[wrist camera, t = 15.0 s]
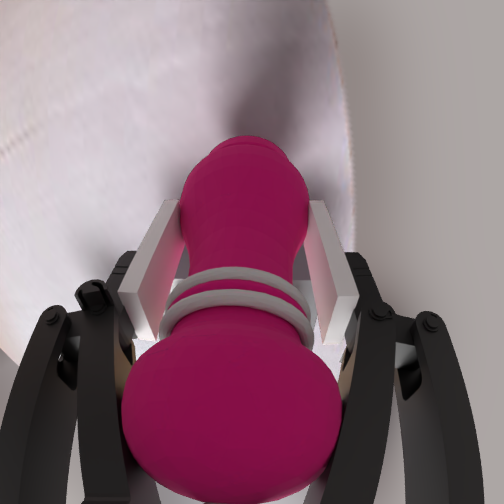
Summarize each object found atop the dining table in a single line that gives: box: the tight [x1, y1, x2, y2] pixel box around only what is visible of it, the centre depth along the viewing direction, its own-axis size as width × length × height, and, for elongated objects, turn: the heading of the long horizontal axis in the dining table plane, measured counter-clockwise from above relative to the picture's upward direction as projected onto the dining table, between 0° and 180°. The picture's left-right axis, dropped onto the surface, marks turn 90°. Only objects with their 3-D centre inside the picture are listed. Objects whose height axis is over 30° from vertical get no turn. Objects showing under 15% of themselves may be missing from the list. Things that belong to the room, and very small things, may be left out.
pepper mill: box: [121, 136, 342, 504], centre depth 12 cm, size 7×7×20 cm
